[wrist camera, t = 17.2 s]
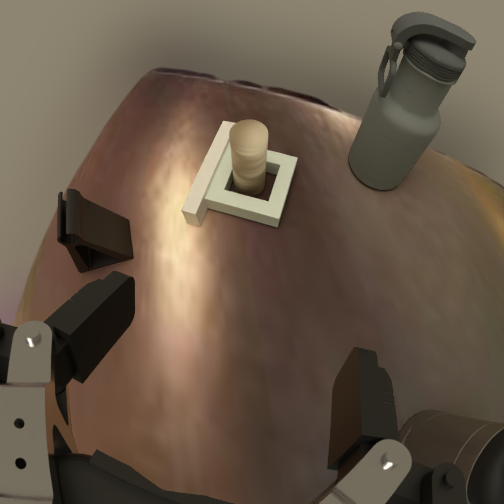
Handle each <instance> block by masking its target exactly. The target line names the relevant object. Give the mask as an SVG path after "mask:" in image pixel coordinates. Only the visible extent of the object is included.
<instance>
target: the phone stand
mask: <svg viewBox="0 0 504 504" xmlns="http://www.w3.org/2000/svg"><path fill="white" fill-rule="evenodd" d="M62 194H63V192H60V193H59V195H58V217H57V241H58V242H59V243H61V244H63V245H64V246H66V248H67V249H68V251H69V253H70V255H71V257H72V259H73V261H74V263H75V265H76V267H77V269H78V271H79V272H80V273H82V272H86V271H89V270H93V269H97V268H100V267H104V266H106V265H111V264H115V263H118V262H122V261H126V260H129V259H133V252H132V245H131V236H130V228H129V220H128V219H126V218H124V217H122V216H120V215H118V214H116V213H113V212H111V211H109V210H107V209H105V208H103V207H101V206H99V205H97V204H95V203H93V202H91V201H89V200H87V199H85V198H84V197H82V195H81V194H80V192H79V191H77V190H75V189H67V201H65V200H63V199H62Z"/></svg>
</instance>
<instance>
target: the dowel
mask: <svg viewBox="0 0 504 504" xmlns="http://www.w3.org/2000/svg"><path fill="white" fill-rule="evenodd" d="M229 138H230V148H231V159H232V169H233V179H234V188H235V192H236V193H238V194H242V195H246V196H250V197H253V198H258V197H259V196H261V195H262V193H263V192H264V189H265V175H266V160H267V144H268V130H267V128H266V127H265V125H263V124H262V123H261V122H258V121H256V120H242V121H239V122H237V123H236V124H234V125H233V126H232V127H231V129H230V132H229Z"/></svg>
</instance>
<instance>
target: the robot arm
mask: <svg viewBox="0 0 504 504" xmlns="http://www.w3.org/2000/svg"><path fill="white" fill-rule="evenodd" d="M134 314H135V281H134V278H133V277H131V276H128V275H125V274H123V273H120V272H118V271H113V272H112V273H110V274H109V275H108V276H107V277H106V278H105V279H103V280H101V279H98V280H95V281H93V282H91V283H88V284H86V285H85V286H84V287H83V288H82V289H80V290H79V291H78V293H76V294H75V295H73V296H72V297H71V299H70V300H68V301H67V302H65V303H64V304H63V305H62V306H61V307H60V308H59V309H58V310H56V311H55V312H54V313H53V314H52V315H51V316H50V317H49V318H48V319H46V320H45V321H44V322H41V321H29V322H26V323H24V324H22V325H20V326H19V327H14V326H11V325H6V324H3V323H1V320H0V504H233V503H229V502H225V501H222V500H218V499H215V498H211V497H208V496H204V495H194V494H186V493H178V492H171V491H166V490H162V489H160V488H159V487H157V486H156V485H154V484H153V483H152V482H150V481H149V480H147V479H146V478H145V477H143V476H142V475H141V474H139V473H138V472H137V471H135V470H134V469H133V468H131V467H130V466H128V465H126V464H124V463H122V462H120V461H118V460H116V459H114V458H112V457H110V456H108V455H106V454H104V453H103V452H101V451H99V450H97V449H96V451H95V453H94V454H93V456H91V455H86V454H79V453H78V449H77V445H76V442H75V439H74V436H73V431H72V423H71V413H70V400H69V387H68V383H69V382H70V380H71V379H72V378H73V379H75V380H77V381H78V382H80V383H82V384H83V383H84V381H85V380H86V379H87V378H88V376H89V375H90V374H91V373H92V371H93V370H94V369H95V368H96V366H97V365H98V364H99V363H100V361H101V360H102V359H103V358H104V356H105V355H106V354H107V353H108V351H109V350H110V349H111V348H112V347H113V345H114V344H115V343H116V342H117V340H118V339H119V338H120V337H121V336H122V334H123V333H124V332H125V331H126V330H127V328H128V327H129V326H130V324H131V323H132V320H133V318H134ZM327 469H331V470H338V477H337V479H336V480H335V481H333V482H332V483H331V484H330V485H329V486H328V487H327V488H326V489H325V490H324V491H323V492H322V493H320V494H319V495H318V496H317V497H316V498H315V499H314V500H312V501H311V502H310V503H309V504H467V503H468V504H504V423H498V422H491V421H485V420H479V419H473V418H468V417H463V416H457V415H453V414H448V413H443V412H439V411H433V410H428V411H423V412H420V413H418V414H417V415H415V416H413V417H412V418H411V419H410V420H409V421H408V422H407V423H406V424H405V425H404V427H403V428H402V430H401V431H400V433H399V436H398V428H397V418H396V410H395V405H394V395H393V388H392V381H391V379H390V377H389V375H388V374H387V372H386V370H385V369H384V368H379V367H378V361H377V355H376V352H375V351H371V350H367V349H363V348H358V347H354V348H353V349H352V351H351V353H350V354H349V356H348V358H347V360H346V361H345V363H344V365H343V367H342V368H341V370H340V372H339V373H338V375H337V377H336V379H335V382H334V386H333V392H332V412H331V429H330V443H329V456H328V467H327Z"/></svg>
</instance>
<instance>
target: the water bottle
mask: <svg viewBox="0 0 504 504" xmlns="http://www.w3.org/2000/svg"><path fill="white" fill-rule="evenodd" d="M391 37H392V45H391V46H387V48H386V51H385V53H384V56H383V59H382V62H381V64H380V67H379V72H378V81H379V83H378V84H379V86H378V87H377V88H376V90H375V92H374V94H373V96H372V99H371V102H370V104H369V106H368V109H367V111H366V113H365V116H364V118H363V121H362V123H361V125H360V128H359V130H358V133H357V135H356V137H355V140H354V142H353V144H352V147H351V149H350V152H349V163H350V166H351V169H352V171H353V172H354V174H355V175H356V177H357V178H358V179H359V180H360V181H362V182H363V183H364V184H366V185H368V186H369V187H372V188H374V189H379V190H389V189H393V188H395V187H397V186H398V185H399V184H400V183H401V182H402V180H403V179H404V178H405V177H406V175H407V174H408V173H409V171H410V170H411V168H412V167H413V166H414V164H415V163H416V162H417V160H418V159H419V158H420V156H421V155H422V153H423V152H424V151H425V149H426V148H427V147H428V145H429V143H430V142H431V141H432V139H433V138H434V137H435V135H436V134H437V132H438V130H439V128H440V123H441V121H440V114H439V111H438V107H439V106H440V104H441V102H442V101H443V99H444V98H445V96H446V94H447V92H448V91H449V89H450V88H451V86H452V85H454V84H455V83H456V82H457V80H458V78H459V77H460V75H461V73H462V72H463V70H464V68H465V67H466V61H465V57H466V54H467V52H468V50H472V49H473V47H474V45H475V43H476V40H475V39H474V38H473V36H471V35H470V34H469V33H468V32H467V31H465V30H463V29H462V28H461V27H459V26H457V25H455V24H452V23H450V22H448V21H446V20H444V19H442V18H439V17H437V16H434V15H432V14H429V13H424V12H412V13H408V14H405V15H403V16H401V17H400V18H398V19H397V20H396V21H395V23H394V24H393V27H392V29H391ZM403 48H404V49H403ZM402 49H403V55H404V56H403V58H402V60H401V63H400V65H399V68H398V70H397V72H396V69H397V63H396V61H397V58H398V56H399V53H400V51H401V50H402ZM388 60H390V70H389V74H388V77H387V79H386V82H385V83H384V71H385V68H386V65H387V62H388Z"/></svg>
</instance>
